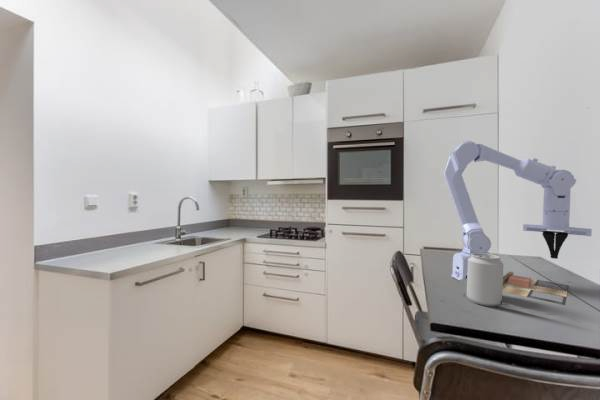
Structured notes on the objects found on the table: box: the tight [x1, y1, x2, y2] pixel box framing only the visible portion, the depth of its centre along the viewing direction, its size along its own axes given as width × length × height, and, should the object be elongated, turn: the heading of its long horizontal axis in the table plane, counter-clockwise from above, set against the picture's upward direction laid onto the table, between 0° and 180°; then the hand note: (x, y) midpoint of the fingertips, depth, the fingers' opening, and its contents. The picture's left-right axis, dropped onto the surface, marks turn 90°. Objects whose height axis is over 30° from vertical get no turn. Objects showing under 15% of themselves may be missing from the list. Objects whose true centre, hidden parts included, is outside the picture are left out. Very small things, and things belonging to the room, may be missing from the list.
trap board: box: [502, 271, 570, 306], centre depth 78 cm, size 14×22×3 cm, turn 134°
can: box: [466, 253, 504, 307], centre depth 70 cm, size 8×8×12 cm
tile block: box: [509, 274, 532, 289], centre depth 80 cm, size 4×4×2 cm
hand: (554, 257), depth 81 cm, fingers closed
